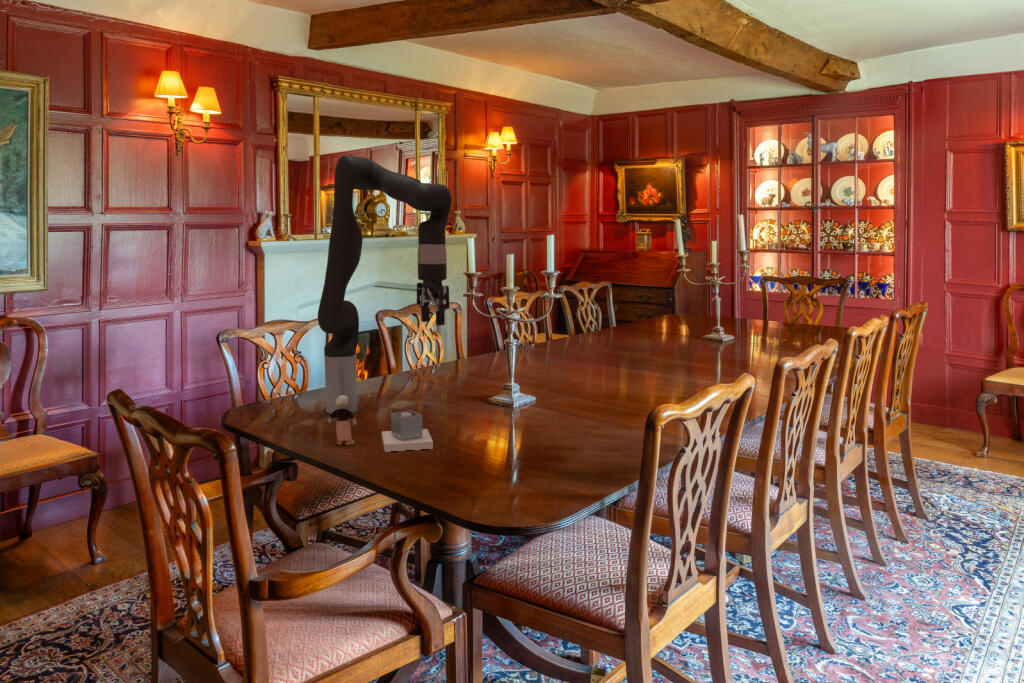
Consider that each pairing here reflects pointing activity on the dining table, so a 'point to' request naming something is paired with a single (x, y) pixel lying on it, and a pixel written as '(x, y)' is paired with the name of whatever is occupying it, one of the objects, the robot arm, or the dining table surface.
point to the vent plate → (406, 440)
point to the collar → (406, 425)
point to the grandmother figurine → (343, 421)
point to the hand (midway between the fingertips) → (432, 323)
